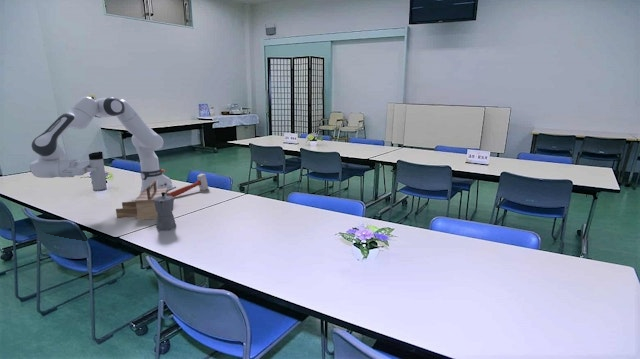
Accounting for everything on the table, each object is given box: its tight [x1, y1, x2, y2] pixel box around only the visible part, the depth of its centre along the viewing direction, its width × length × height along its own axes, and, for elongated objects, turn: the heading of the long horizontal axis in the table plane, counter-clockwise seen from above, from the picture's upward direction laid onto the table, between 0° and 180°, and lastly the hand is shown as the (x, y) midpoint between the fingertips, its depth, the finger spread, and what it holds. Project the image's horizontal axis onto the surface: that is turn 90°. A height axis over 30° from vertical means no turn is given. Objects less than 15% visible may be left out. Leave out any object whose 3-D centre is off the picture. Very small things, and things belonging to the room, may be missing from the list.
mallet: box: [167, 173, 209, 198], centre depth 234 cm, size 11×4×30 cm
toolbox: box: [115, 180, 169, 221], centre depth 195 cm, size 23×23×16 cm
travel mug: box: [88, 151, 108, 192], centre depth 186 cm, size 6×7×20 cm
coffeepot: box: [153, 192, 177, 232], centre depth 175 cm, size 15×9×18 cm, turn 13°
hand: (99, 167), depth 186 cm, fingers closed on travel mug, 6 cm apart
